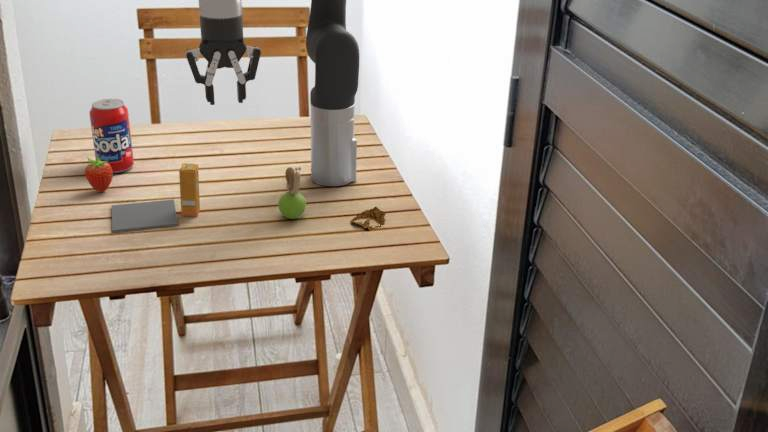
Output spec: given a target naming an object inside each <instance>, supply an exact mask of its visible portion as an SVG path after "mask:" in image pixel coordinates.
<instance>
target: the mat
mask: <svg viewBox="0 0 768 432" xmlns="http://www.w3.org/2000/svg"><path fill="white" fill-rule="evenodd" d="M178 226H179V222H178V216H177V211H176V204H175V200H174V199H165V200H155V201H144V202H135V203H134V202H133V203H124V204H122V203H121V204H113V205H111V227H112V228H111V230H112V233H113V234H114V233H121V232H130V231H133V232H134V231H143V230H151V229H161V228H171V227H178Z"/></svg>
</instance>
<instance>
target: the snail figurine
mask: <svg viewBox="0 0 768 432" xmlns="http://www.w3.org/2000/svg"><path fill="white" fill-rule="evenodd" d="M298 170H299V171H298ZM301 170H302V167H301V166H299V167H295V169H294V168H293V167H287V168H286V170H285V173H284V174H285V175H284V176H285V182H286V185H285V186H286V190H287V191H286V192H284V193H283V194H282V195H281V196H280V198H279V200H278V204H277V207H278V211H279V213H280V214H281V215H282V216H283V217H284V218H286V219H291V220H294V219H298V218H300V217H301V216H302V215H303V214H304V213H305V211H306V209H307V201H306V199H305V197H304V196H303V194H302V193H300V188H301V178H302V177H301V172H300V171H301Z"/></svg>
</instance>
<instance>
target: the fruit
mask: <svg viewBox="0 0 768 432" xmlns="http://www.w3.org/2000/svg"><path fill="white" fill-rule="evenodd" d="M86 159H87V161H89V163H87V165H86V167H85V170H84V175H85V178H86V181H87V182H88V184H89V185H90V186H91V187H92V188H93V190H95V191H96V192H100V193H103V192H105V191H107V189H108V188H109V187H110V185H111V183H112V180H113V176H114V173H113V170H112V167H111V166H110V164H108V163H107V161H108V160H107V161H101V160H100V158H99V157H98V156H96V158H95V160H94V159H91V158H89V157H87V158H86Z"/></svg>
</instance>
